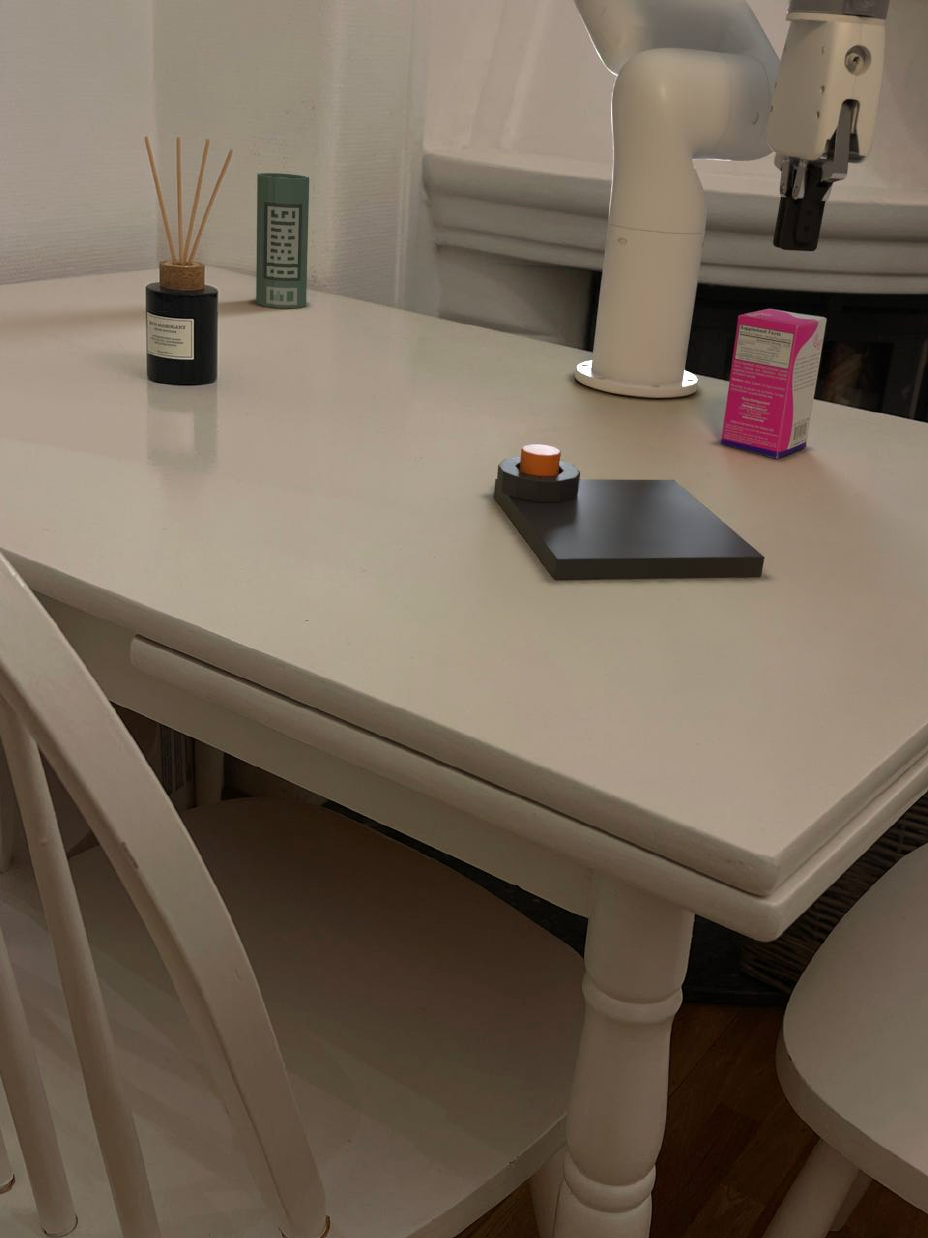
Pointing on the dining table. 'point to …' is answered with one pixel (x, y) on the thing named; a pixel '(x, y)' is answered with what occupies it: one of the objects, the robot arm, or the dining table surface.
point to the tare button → (540, 460)
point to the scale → (620, 527)
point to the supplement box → (772, 381)
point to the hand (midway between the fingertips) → (794, 248)
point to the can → (282, 240)
